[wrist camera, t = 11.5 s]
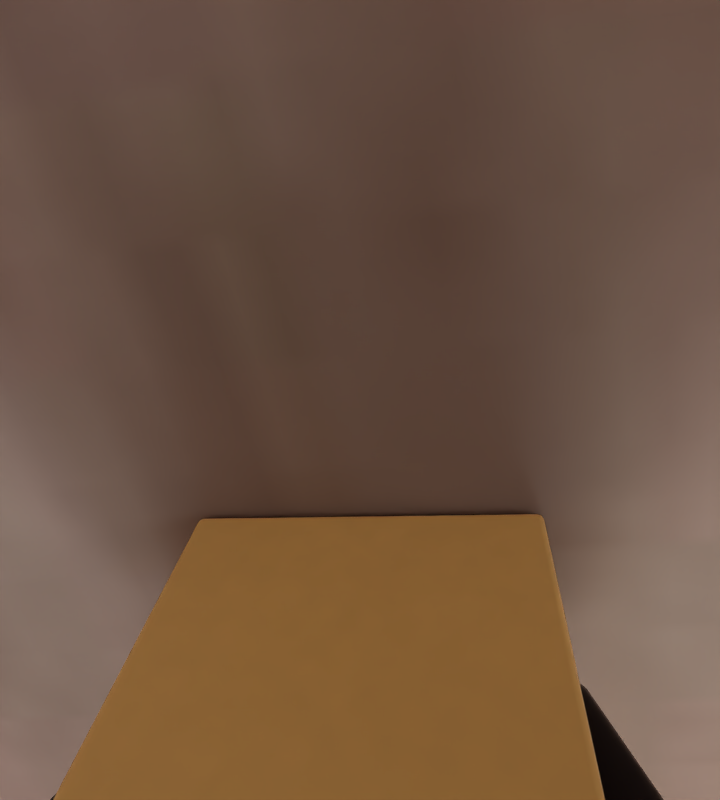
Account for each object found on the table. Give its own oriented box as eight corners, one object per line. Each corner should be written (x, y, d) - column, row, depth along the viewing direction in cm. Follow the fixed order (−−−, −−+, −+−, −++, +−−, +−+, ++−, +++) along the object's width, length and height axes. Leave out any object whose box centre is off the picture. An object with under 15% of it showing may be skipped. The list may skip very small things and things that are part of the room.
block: (543, 511, 8) (639, 949, 4) (536, 743, 10) (595, 1185, 6) (198, 516, 9) (-4, 898, 5) (257, 732, 11) (150, 1124, 7)
